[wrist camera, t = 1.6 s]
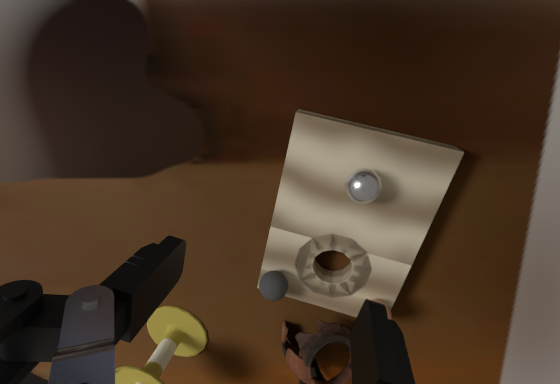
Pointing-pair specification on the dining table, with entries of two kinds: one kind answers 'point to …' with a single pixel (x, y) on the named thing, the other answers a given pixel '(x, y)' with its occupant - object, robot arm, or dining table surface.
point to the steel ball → (363, 185)
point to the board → (353, 210)
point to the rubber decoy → (273, 285)
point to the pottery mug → (310, 345)
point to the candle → (166, 344)
